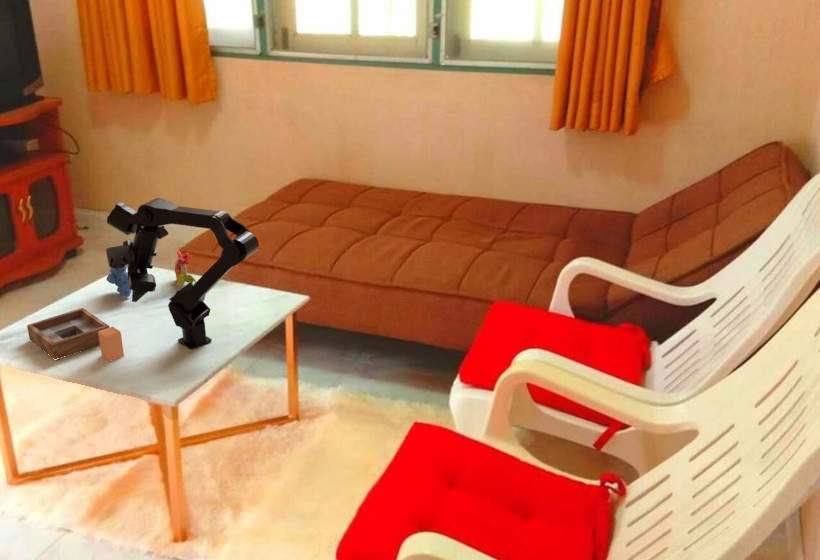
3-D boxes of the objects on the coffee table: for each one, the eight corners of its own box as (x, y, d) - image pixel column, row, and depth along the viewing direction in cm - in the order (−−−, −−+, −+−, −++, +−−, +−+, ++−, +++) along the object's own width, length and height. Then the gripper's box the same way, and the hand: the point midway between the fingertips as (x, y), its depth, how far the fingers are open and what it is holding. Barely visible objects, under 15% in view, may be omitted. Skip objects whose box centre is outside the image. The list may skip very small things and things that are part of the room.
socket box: (111, 340, 204) (109, 325, 202) (55, 360, 194) (52, 345, 192) (84, 322, 213) (82, 307, 211) (29, 340, 203) (26, 325, 201)
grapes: (102, 291, 232) (96, 254, 227) (124, 285, 236) (119, 249, 231) (116, 305, 224) (110, 267, 219) (138, 299, 227) (134, 261, 223)
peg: (124, 355, 197) (120, 331, 194) (109, 361, 194) (105, 336, 192) (116, 350, 200) (112, 326, 197) (101, 355, 197) (97, 331, 194)
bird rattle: (170, 289, 239) (181, 287, 232) (161, 254, 238) (171, 251, 231) (189, 284, 243) (200, 282, 236) (180, 250, 242) (191, 247, 235)
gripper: (108, 218, 200) (96, 266, 207) (116, 261, 187) (103, 311, 194) (151, 224, 206) (139, 270, 213) (162, 266, 193) (148, 313, 200)
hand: (131, 290), depth 205 cm, fingers open, 9 cm apart
